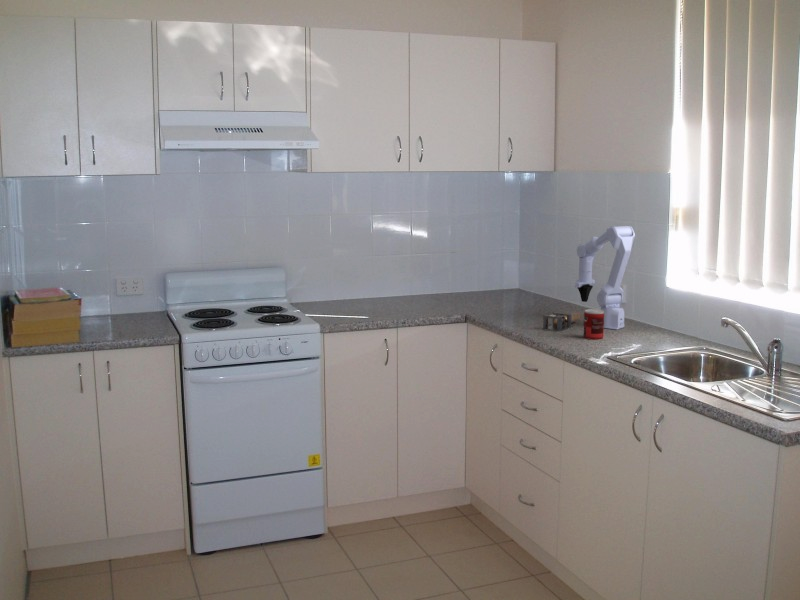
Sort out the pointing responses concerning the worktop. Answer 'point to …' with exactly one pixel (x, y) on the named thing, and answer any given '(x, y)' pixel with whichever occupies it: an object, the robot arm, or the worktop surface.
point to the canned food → (593, 324)
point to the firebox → (559, 322)
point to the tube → (575, 317)
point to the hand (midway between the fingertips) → (584, 301)
